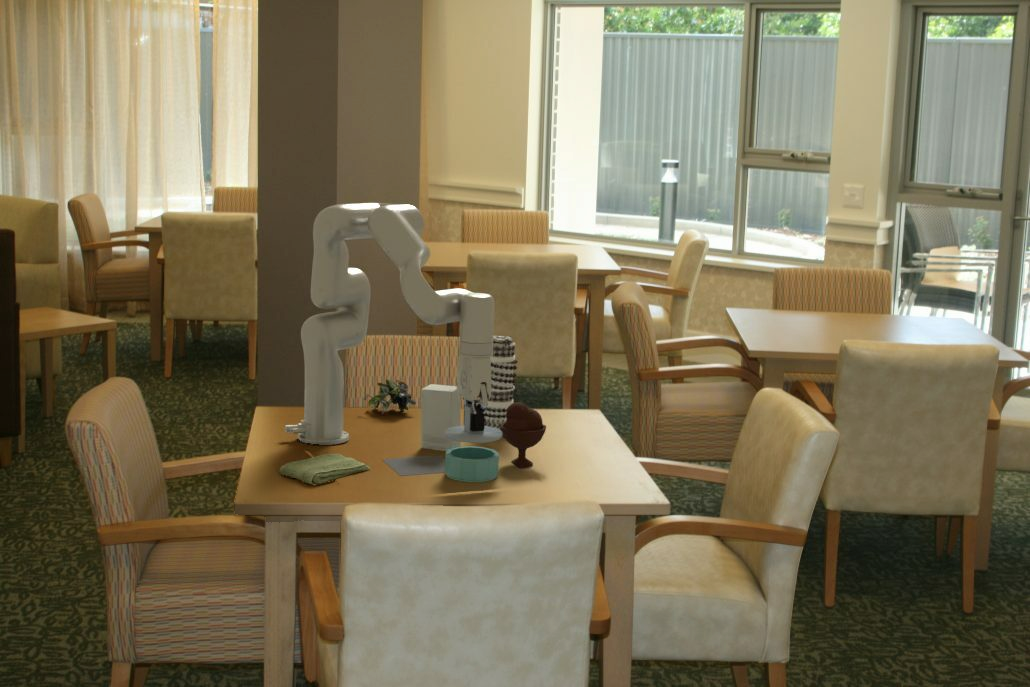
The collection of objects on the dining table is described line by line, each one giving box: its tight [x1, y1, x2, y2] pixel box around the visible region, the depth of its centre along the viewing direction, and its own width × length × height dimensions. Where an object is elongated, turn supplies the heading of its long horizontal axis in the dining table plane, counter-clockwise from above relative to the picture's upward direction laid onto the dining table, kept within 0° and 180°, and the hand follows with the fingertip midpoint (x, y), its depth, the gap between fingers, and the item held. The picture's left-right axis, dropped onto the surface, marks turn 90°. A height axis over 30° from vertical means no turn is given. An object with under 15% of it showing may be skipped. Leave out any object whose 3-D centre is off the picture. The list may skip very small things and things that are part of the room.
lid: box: [445, 403, 503, 444], centre depth 285 cm, size 13×13×7 cm
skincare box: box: [420, 383, 461, 452], centre depth 308 cm, size 8×7×16 cm
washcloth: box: [279, 453, 371, 485], centre depth 285 cm, size 13×18×3 cm
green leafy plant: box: [363, 378, 417, 416], centre depth 343 cm, size 11×11×12 cm
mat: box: [381, 454, 446, 477], centre depth 293 cm, size 14×14×1 cm
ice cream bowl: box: [500, 401, 547, 469], centre depth 297 cm, size 11×11×15 cm
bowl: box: [444, 445, 500, 483], centre depth 287 cm, size 12×12×6 cm
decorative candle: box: [484, 335, 518, 430], centre depth 326 cm, size 9×9×25 cm
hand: (473, 427), depth 285 cm, fingers closed on lid, 3 cm apart
